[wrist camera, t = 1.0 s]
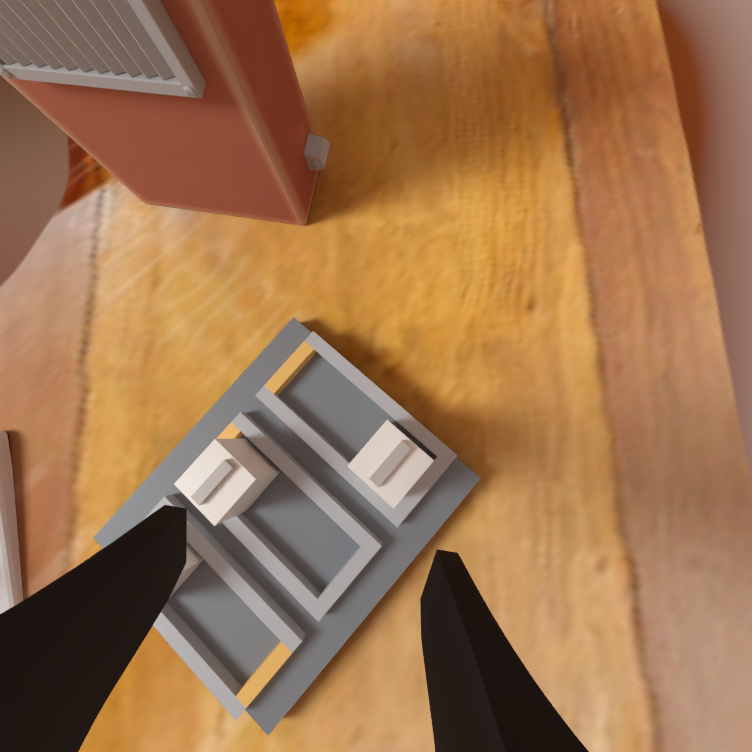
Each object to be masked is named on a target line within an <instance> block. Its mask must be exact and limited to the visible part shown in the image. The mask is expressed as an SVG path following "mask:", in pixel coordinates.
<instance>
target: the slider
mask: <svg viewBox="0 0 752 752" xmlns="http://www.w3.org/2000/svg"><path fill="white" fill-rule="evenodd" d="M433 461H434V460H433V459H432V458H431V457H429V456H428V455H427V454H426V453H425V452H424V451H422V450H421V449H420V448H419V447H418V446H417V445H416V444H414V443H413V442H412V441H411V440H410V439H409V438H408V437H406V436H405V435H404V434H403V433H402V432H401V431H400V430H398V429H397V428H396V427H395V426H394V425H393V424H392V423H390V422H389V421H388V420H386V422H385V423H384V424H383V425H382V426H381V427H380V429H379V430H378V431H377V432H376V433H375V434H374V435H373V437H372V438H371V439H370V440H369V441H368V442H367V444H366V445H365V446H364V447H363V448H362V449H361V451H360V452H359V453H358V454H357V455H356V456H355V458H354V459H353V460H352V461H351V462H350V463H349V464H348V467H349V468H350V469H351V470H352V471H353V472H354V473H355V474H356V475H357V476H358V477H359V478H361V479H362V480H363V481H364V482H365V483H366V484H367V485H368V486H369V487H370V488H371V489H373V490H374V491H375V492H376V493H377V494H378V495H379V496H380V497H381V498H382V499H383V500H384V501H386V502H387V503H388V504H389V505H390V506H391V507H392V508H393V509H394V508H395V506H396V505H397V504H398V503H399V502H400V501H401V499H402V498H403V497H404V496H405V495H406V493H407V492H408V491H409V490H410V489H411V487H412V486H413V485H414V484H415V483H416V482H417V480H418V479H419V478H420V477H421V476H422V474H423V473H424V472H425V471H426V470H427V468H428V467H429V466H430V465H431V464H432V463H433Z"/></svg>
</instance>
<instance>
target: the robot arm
mask: <svg viewBox="0 0 752 752" xmlns="http://www.w3.org/2000/svg"><path fill="white" fill-rule="evenodd" d="M186 557H187V508H181V507H175V506H169V505H164V506H162V507H161V508H159V509H158V510H157V511H155V512H154V513H152V514H151V515H149V516H148V517H147V518H145V519H144V520H143V521H141V522H140V523H138V524H137V525H136V526H134V527H133V528H131V529H130V530H129V531H127V532H126V533H124V534H123V535H122V536H120V537H119V538H117V539H116V540H115V541H113V542H112V543H110V544H109V545H107V546H106V547H105V548H103V549H102V550H100V551H99V552H97V553H96V554H94V555H93V556H92V557H90V558H89V559H87V560H86V561H84V562H83V563H81V564H80V565H78V566H77V567H75V568H74V569H72V570H71V571H69V572H68V573H66V574H64V575H63V576H61V577H60V578H58V579H57V580H55V581H54V582H52V583H50V584H49V585H47V586H46V587H44V588H43V589H41V590H40V591H38V592H36V593H35V594H33V595H31V596H30V597H28V598H27V599H25V600H23V601H22V602H20V603H18V604H17V605H15V606H13V607H12V608H10V609H8V610H6V611H5V612H3V613H1V614H0V752H78V751H79V749H80V747H81V745H82V743H83V741H84V740H85V738H86V736H87V734H88V732H89V730H90V728H91V726H92V724H93V722H94V721H95V719H96V717H97V715H98V713H99V712H100V710H101V708H102V707H103V705H104V703H105V701H106V700H107V698H108V696H109V695H110V693H111V691H112V690H113V688H114V687H115V685H116V683H117V682H118V680H119V679H120V677H121V675H122V674H123V672H124V671H125V669H126V667H127V666H128V664H129V663H130V661H131V659H132V658H133V656H134V655H135V653H136V651H137V650H138V648H139V647H140V645H141V643H142V642H143V640H144V639H145V637H146V635H147V634H148V632H149V630H150V629H151V627H152V626H153V624H154V622H155V621H156V619H157V618H158V616H159V614H160V613H161V611H162V609H163V608H164V606H165V604H166V603H167V601H168V599H169V597H170V595H171V593H172V591H173V589H174V587H175V585H176V583H177V581H178V579H179V577H180V575H181V573H182V571H183V569H184V566H185V564H186ZM421 638H422V647H423V656H424V664H425V672H426V680H427V687H428V695H429V703H430V711H431V718H432V726H433V734H434V742H435V752H589V751H588V750H587V749H586V748H585V747H584V745H583V744H582V743H581V742H580V741H579V739H578V738H577V737H576V736H575V734H574V733H573V732H572V731H571V729H570V728H569V727H568V725H567V724H566V723H565V722H564V720H563V719H562V718H561V716H560V715H559V714H558V712H557V711H556V710H555V708H554V707H553V706H552V704H551V703H550V702H549V700H548V699H547V697H546V696H545V695H544V693H543V692H542V691H541V689H540V688H539V686H538V685H537V683H536V682H535V681H534V679H533V678H532V676H531V675H530V673H529V672H528V670H527V669H526V667H525V666H524V664H523V663H522V661H521V660H520V658H519V657H518V655H517V654H516V652H515V651H514V649H513V648H512V646H511V644H510V643H509V641H508V640H507V638H506V637H505V635H504V633H503V632H502V630H501V628H500V627H499V625H498V623H497V622H496V620H495V618H494V617H493V615H492V613H491V612H490V610H489V608H488V607H487V605H486V603H485V601H484V600H483V598H482V596H481V594H480V593H479V591H478V589H477V587H476V585H475V584H474V582H473V580H472V578H471V576H470V574H469V573H468V571H467V569H466V567H465V565H464V563H463V561H462V560H461V558H460V556H459V555H458V553H455V552H449V551H443V550H437V551H436V554H435V557H434V560H433V563H432V566H431V569H430V572H429V575H428V578H427V581H426V584H425V587H424V590H423V593H422V596H421Z"/></svg>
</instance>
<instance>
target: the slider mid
mask: <svg viewBox="0 0 752 752" xmlns="http://www.w3.org/2000/svg"><path fill="white" fill-rule="evenodd" d="M279 473H280V471H279V470H278V469H277V468H276V467H275V466H274V465H273V464H272V463H271V462H270V461H269V460H268V459H267V458H265V457H264V456H263V455H262V454H261V453H260V452H259V451H258V450H257V449H256V448H255V447H254V446H253V445H252V444H251V443H250V442H249V441H248V440H247V439H246V438H231V439H214V440H213V441H212V442H211V444H210V445H209V446H208V447H207V448H206V449H205V450H204V451H203V452H202V454H201V455H200V456H199V457H198V458H197V459H196V460H195V461H194V462H193V464H192V465H191V466H190V467H189V468H188V469H187V470H186V471H185V472H184V474H183V475H182V476H181V477H180V478H179V479H178V480H177V481H176V482H175V484H174V485H175V486H176V487H177V488H178V489H179V490H180V491H181V492H182V493H183V494H184V495H185V496H186V497H187V498H188V499H189V500H190V501H191V502H192V503H193V504H194V506H195V507H196V508H197V509H198V510H199V511H200V512H201V513H202V514H203V515H204V516H205V517H206V518H207V519H208V520H209V521H210V522H211V523H212V524H213V525H214V526H216V525H218V524H220V523H222V522H224V521H226V520H228V519H231V518H233V517H235V516H237V515H239V514H241V513H243V512H245V511H247V510H248V508H249V507H250V506H251V505H252V504H253V503H254V502H255V500H256V499H257V498H258V497H259V496H260V495H261V494H262V492H263V491H264V490H265V489H266V488H267V487H268V486H269V484H270V483H271V482H272V481H273V480H274V479H275V478H276V476H277V475H278V474H279Z"/></svg>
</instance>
